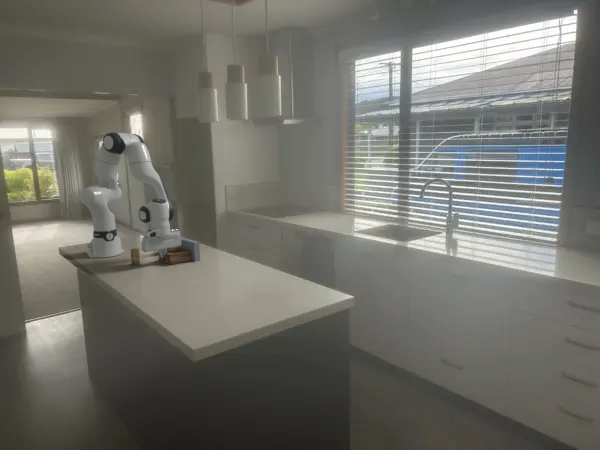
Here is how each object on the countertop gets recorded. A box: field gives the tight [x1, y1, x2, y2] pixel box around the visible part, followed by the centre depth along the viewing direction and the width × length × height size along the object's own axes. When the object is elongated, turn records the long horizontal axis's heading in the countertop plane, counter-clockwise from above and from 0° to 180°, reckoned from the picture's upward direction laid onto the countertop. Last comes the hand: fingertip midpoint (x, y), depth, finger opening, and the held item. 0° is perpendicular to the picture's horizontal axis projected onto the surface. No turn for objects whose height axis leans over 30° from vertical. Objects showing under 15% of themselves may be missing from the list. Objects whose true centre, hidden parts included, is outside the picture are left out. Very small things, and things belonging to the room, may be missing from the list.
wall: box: [177, 236, 201, 262], centre depth 233 cm, size 18×3×10 cm, turn 44°
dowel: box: [130, 247, 141, 267], centre depth 223 cm, size 4×4×8 cm
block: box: [158, 248, 192, 266], centre depth 228 cm, size 12×12×5 cm
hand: (163, 257), depth 223 cm, fingers closed
